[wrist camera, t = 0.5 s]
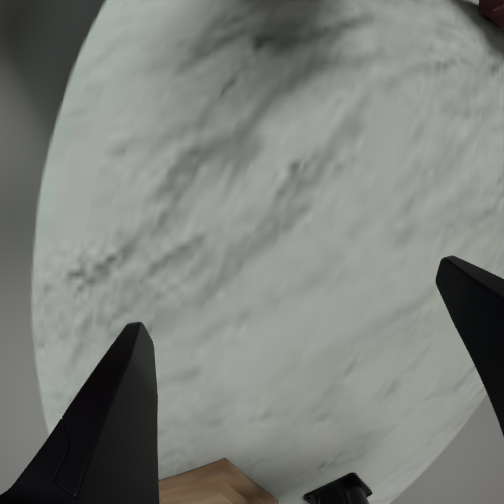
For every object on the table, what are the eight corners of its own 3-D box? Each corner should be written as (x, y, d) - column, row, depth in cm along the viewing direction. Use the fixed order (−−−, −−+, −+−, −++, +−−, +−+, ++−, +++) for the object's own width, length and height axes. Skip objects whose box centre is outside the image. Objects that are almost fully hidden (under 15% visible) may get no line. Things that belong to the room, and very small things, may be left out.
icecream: (462, -34, 12) (551, 61, 15) (469, -65, 10) (554, 23, 12) (430, -15, 19) (515, 62, 21) (441, -46, 16) (521, 27, 19)
